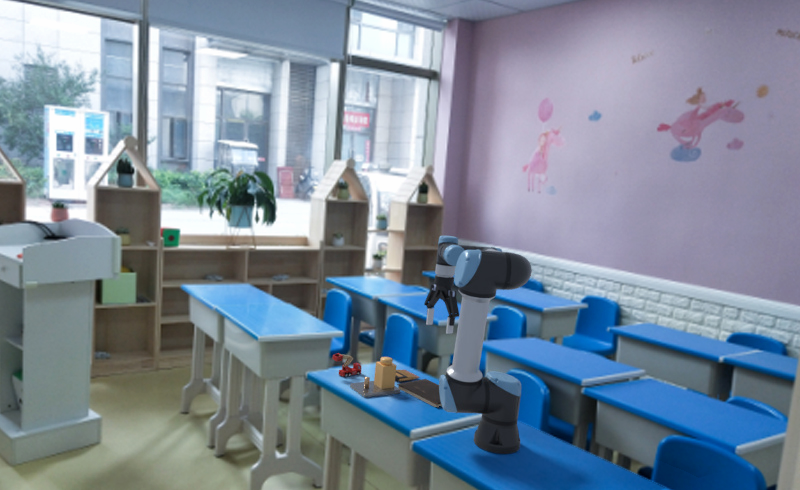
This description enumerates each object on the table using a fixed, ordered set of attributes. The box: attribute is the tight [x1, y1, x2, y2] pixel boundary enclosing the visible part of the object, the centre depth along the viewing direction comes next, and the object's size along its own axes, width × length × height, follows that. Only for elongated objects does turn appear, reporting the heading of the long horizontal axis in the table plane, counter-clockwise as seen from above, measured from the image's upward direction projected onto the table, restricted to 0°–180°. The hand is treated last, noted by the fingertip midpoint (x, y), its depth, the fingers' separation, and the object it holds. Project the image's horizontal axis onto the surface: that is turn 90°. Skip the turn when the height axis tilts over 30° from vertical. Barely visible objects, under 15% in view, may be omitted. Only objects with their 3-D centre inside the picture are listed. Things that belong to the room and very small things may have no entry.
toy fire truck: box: [331, 352, 363, 378], centre depth 255 cm, size 3×14×10 cm, turn 130°
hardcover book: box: [396, 378, 442, 408], centre depth 242 cm, size 16×23×2 cm
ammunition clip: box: [395, 369, 420, 383], centre depth 260 cm, size 11×2×12 cm
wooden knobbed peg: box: [373, 356, 397, 389], centre depth 242 cm, size 6×6×11 cm
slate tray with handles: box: [349, 376, 401, 398], centre depth 240 cm, size 12×16×6 cm
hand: (439, 328), depth 239 cm, fingers open, 13 cm apart
